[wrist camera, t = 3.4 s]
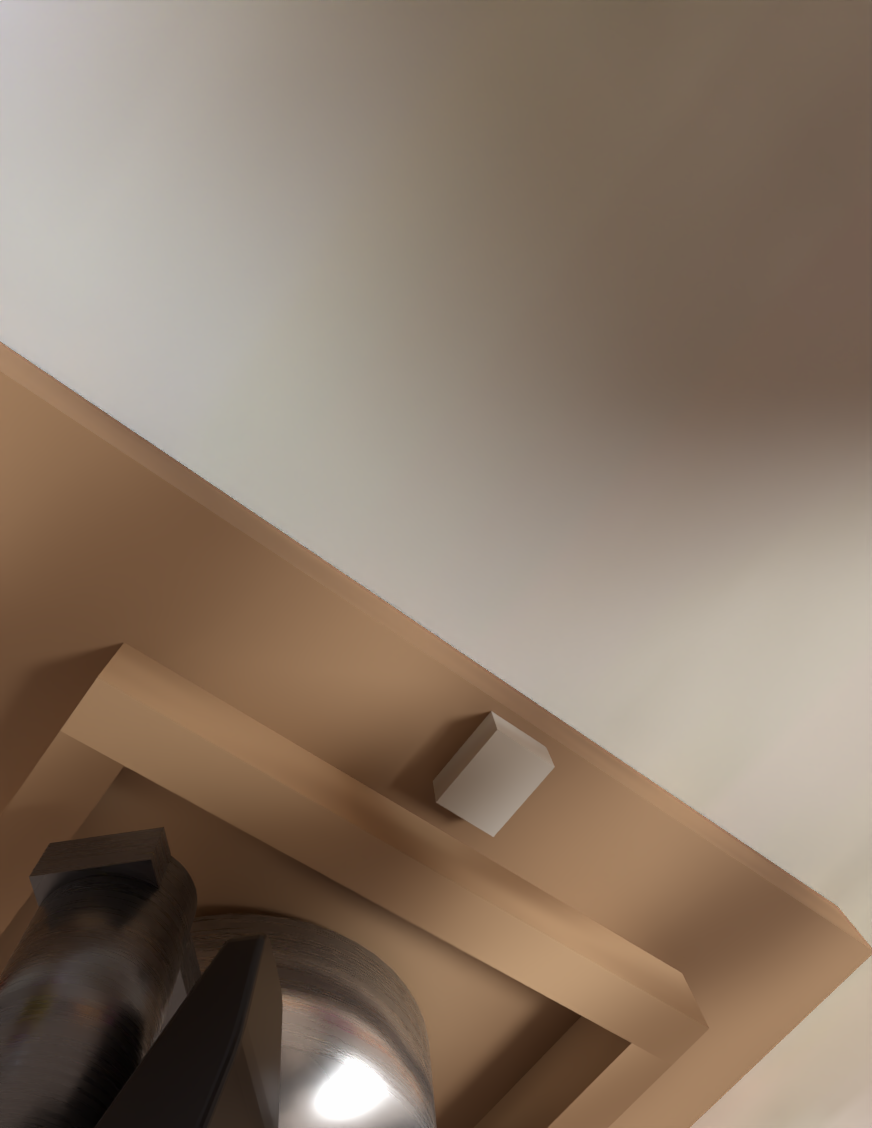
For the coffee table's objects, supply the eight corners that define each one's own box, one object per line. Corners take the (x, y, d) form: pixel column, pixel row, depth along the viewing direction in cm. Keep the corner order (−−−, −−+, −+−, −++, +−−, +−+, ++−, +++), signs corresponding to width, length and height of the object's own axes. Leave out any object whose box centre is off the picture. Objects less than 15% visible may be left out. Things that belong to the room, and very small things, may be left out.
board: (838, 907, 16) (917, 1004, 14) (413, 1322, 19) (420, 1460, 16) (-69, 295, 11) (-186, 286, 9) (-465, 988, 14) (-633, 1122, 11)
